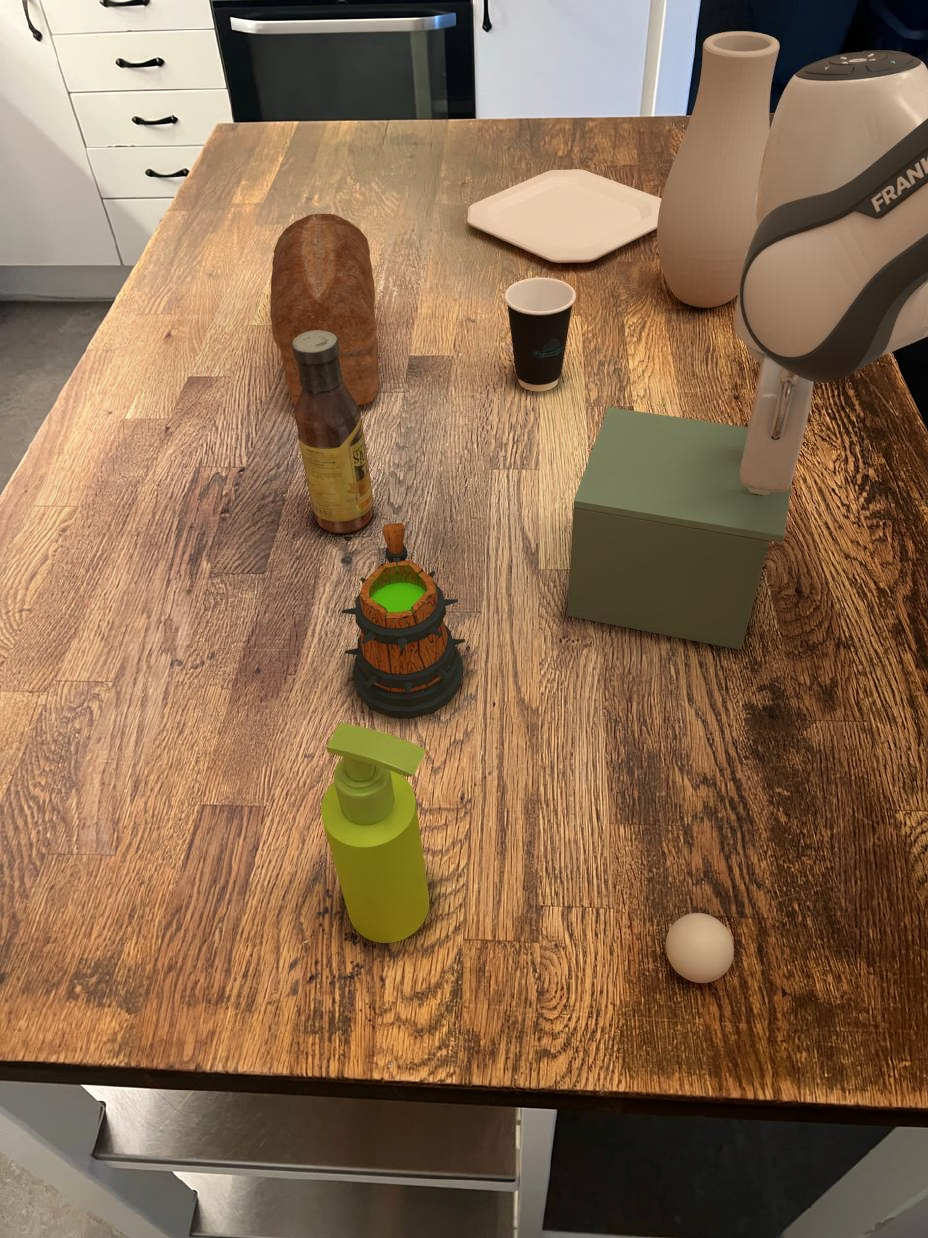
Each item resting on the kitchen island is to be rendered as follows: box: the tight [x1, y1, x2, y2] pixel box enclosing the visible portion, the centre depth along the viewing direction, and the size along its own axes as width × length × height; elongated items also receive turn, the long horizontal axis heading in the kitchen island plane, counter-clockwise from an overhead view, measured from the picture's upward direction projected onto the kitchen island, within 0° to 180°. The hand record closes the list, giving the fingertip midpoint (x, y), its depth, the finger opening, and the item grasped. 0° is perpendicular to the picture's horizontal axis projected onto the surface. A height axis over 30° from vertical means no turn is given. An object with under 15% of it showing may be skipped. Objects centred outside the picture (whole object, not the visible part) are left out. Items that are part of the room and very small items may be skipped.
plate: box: [466, 168, 662, 264], centre depth 141 cm, size 25×25×2 cm
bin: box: [566, 507, 770, 651], centre depth 86 cm, size 16×14×13 cm
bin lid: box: [573, 406, 792, 544], centre depth 79 cm, size 17×14×5 cm
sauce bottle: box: [292, 330, 374, 534], centre depth 91 cm, size 7×6×20 cm
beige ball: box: [665, 912, 735, 984], centre depth 64 cm, size 4×4×4 cm
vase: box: [656, 30, 780, 309], centre depth 115 cm, size 14×14×30 cm
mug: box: [341, 522, 466, 719], centre depth 80 cm, size 13×10×12 cm
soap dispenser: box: [320, 721, 431, 944], centre depth 62 cm, size 6×7×20 cm
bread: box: [269, 213, 380, 407], centre depth 115 cm, size 12×28×14 cm, turn 7°
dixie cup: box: [503, 277, 577, 392], centre depth 110 cm, size 8×8×11 cm
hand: (763, 464), depth 78 cm, fingers closed on bin lid, 5 cm apart
